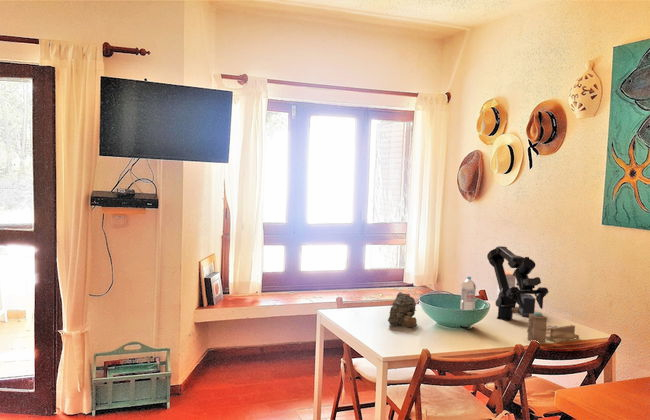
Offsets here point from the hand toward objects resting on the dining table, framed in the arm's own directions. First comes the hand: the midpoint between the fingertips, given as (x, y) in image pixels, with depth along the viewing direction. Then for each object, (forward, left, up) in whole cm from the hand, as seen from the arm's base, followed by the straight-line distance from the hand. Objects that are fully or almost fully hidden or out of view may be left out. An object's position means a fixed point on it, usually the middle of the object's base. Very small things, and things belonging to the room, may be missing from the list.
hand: (532, 308), depth 215 cm
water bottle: (-28, -6, -13) cm, 32 cm away
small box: (-8, +38, -13) cm, 41 cm away
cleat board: (+8, +7, -13) cm, 17 cm away
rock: (-54, -24, -13) cm, 61 cm away
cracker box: (-21, +46, -13) cm, 52 cm away
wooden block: (+4, -7, -13) cm, 15 cm away
